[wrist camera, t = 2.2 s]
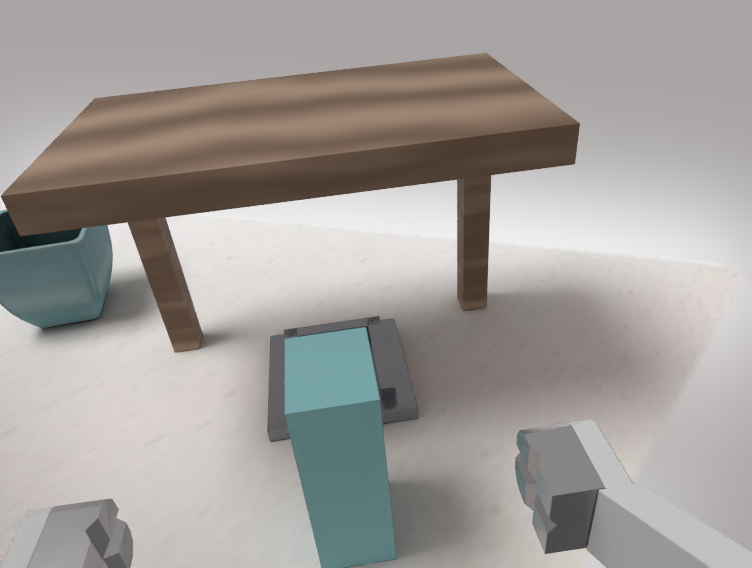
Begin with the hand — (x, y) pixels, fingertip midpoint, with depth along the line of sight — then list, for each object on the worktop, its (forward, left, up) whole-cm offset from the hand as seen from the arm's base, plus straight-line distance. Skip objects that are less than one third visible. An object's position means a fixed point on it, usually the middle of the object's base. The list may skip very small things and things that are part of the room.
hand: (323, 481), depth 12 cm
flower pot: (-45, -5, -20) cm, 50 cm away
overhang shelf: (-22, +10, -20) cm, 31 cm away
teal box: (-11, +5, -20) cm, 23 cm away
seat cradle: (-22, +10, -20) cm, 31 cm away
